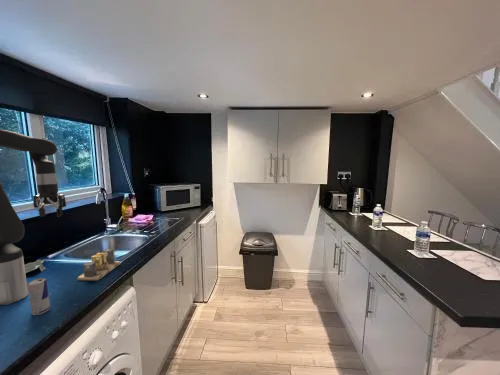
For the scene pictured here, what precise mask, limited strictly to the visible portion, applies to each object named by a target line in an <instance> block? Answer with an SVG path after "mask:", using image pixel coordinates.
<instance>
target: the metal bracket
mask: <svg viewBox="0 0 500 375" xmlns="http://www.w3.org/2000/svg"><path fill="white" fill-rule="evenodd" d="M44 262H45V260H44V259H43V260H41V259H37V260H36V261H34V262H28V263H26V264H24V266H25V273H29V272H32V271H35V270H37V269H38V268H39V270H40V272H43V271H44V270H45V269H46V267H44V265H43V263H44Z"/></svg>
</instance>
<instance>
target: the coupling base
mask: <svg viewBox="0 0 500 375" xmlns="http://www.w3.org/2000/svg"><path fill="white" fill-rule="evenodd" d="M107 249H108V248H106V249H104V250H103V251H102V252H101V253H105V252H108V256H107V257H106V263H102V265H101V266H96V262H92V261H86V263H84V264H82V267H83V268H82V270H83V273H81V274H80V275H79V276H78V277H77V281H99V280H101V279H102V278H103V277H104V276H106V275H107V274H109V273H111V272H112V271H113V270H114V269H115V268H117V267H118V266H120V265H121V261H119V260H115V253H114V249H112V248H110V249H111V250H109V251H107ZM86 265H89V269H86V268H85V266H86Z"/></svg>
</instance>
